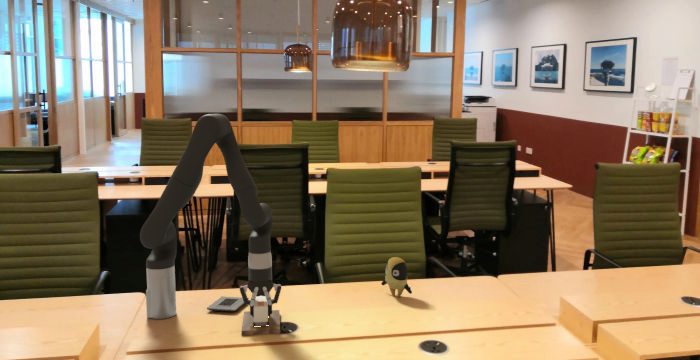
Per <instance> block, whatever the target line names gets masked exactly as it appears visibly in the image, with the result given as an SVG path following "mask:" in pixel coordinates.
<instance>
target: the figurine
mask: <svg viewBox="0 0 700 360" xmlns="http://www.w3.org/2000/svg"><path fill="white" fill-rule="evenodd" d="M408 276H409V275H408V268H407V264H406V261H405V260H404V259H403V258H400V257H397V256H395V257H394V256H392V257H390V258H389V259H388V261H387V264H386V266H385V276H384V278H385V279H382V281H381V286H385V285H388V288H389V291H390V293H391V295H392V296H395V295H396V291H397V298H400V297H401V296H402V294H403V292H404V290H405V291H406V292H408V294H410V295H412V293H413V291H412V289H411V287H412V286H411V287H410V286H409V283H408Z"/></svg>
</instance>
